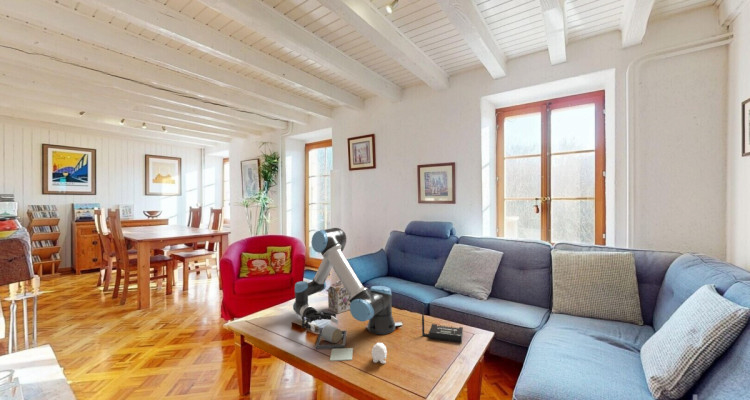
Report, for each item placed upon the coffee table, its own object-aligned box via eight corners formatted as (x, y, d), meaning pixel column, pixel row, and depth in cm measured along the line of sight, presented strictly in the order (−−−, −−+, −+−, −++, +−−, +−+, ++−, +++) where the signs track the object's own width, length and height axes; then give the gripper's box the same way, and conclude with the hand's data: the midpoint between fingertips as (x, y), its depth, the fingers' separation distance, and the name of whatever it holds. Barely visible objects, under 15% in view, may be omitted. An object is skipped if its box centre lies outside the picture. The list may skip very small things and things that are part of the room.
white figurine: (370, 345, 137) (376, 335, 149) (370, 365, 137) (376, 353, 148) (384, 346, 136) (389, 336, 147) (384, 366, 135) (389, 355, 147)
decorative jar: (343, 304, 212) (342, 277, 211) (353, 309, 203) (352, 281, 202) (327, 309, 204) (326, 281, 204) (337, 314, 195) (336, 285, 195)
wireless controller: (463, 333, 166) (462, 301, 166) (461, 345, 153) (460, 311, 153) (425, 328, 173) (424, 297, 172) (420, 340, 160) (420, 307, 159)
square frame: (346, 333, 169) (346, 330, 169) (344, 348, 153) (344, 345, 153) (320, 334, 168) (320, 331, 168) (315, 349, 152) (315, 346, 152)
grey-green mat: (352, 348, 152) (352, 348, 152) (352, 360, 142) (352, 359, 142) (332, 349, 151) (332, 348, 151) (329, 360, 141) (329, 360, 141)
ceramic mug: (333, 346, 155) (332, 330, 155) (321, 342, 159) (321, 327, 159) (347, 338, 163) (347, 323, 163) (335, 334, 168) (335, 320, 168)
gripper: (328, 314, 189) (346, 325, 172) (288, 325, 174) (304, 339, 157) (327, 301, 189) (346, 312, 171) (287, 312, 174) (303, 324, 157)
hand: (326, 325), depth 164 cm, fingers open, 13 cm apart
